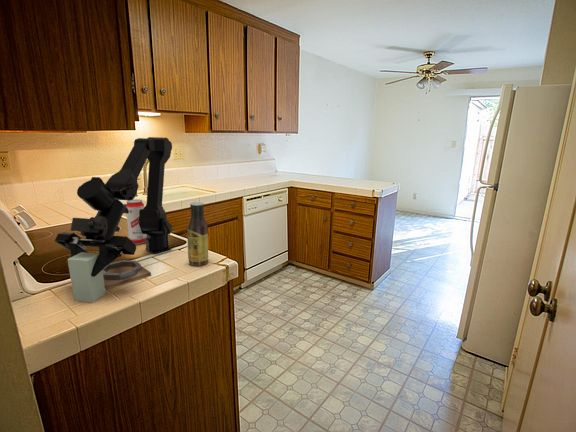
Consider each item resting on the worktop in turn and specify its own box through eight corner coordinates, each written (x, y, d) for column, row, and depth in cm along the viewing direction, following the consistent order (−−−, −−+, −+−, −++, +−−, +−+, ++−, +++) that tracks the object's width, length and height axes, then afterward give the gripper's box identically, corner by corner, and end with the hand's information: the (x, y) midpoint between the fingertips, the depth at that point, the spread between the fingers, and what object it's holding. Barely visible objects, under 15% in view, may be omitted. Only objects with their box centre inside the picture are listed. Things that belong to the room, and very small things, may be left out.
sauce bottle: (184, 262, 101) (181, 202, 96) (201, 257, 105) (199, 200, 100) (195, 269, 96) (192, 206, 91) (213, 263, 101) (210, 203, 96)
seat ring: (132, 262, 97) (131, 257, 97) (145, 272, 91) (145, 267, 90) (96, 271, 90) (95, 267, 90) (108, 283, 84) (107, 278, 83)
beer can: (150, 242, 118) (146, 201, 113) (133, 246, 113) (128, 203, 109) (143, 238, 122) (140, 198, 118) (126, 242, 117) (122, 200, 113)
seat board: (134, 263, 99) (134, 260, 99) (151, 275, 91) (150, 272, 91) (91, 274, 90) (91, 271, 90) (106, 289, 83) (105, 285, 82)
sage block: (87, 291, 81) (81, 252, 78) (105, 293, 81) (100, 253, 78) (74, 300, 77) (67, 259, 74) (93, 302, 76) (86, 260, 73)
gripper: (54, 201, 77) (21, 259, 70) (124, 205, 76) (98, 266, 68) (82, 223, 87) (56, 276, 79) (145, 227, 85) (124, 282, 77)
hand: (82, 275), depth 76 cm, fingers closed on sage block, 5 cm apart
